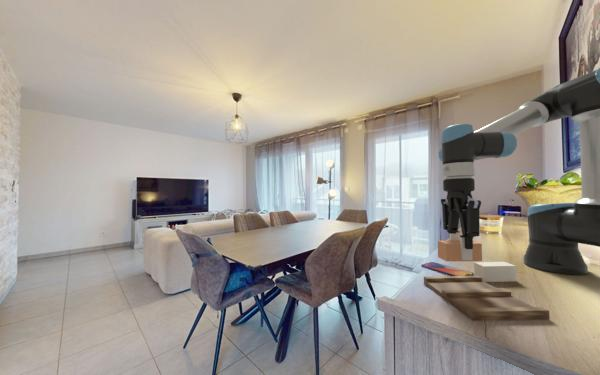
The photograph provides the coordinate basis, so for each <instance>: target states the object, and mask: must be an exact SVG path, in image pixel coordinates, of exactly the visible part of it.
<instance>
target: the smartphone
mask: <svg viewBox="0 0 600 375" xmlns="http://www.w3.org/2000/svg"><path fill="white" fill-rule="evenodd" d="M421 267H422V268H425V269H427V270H431V271H434V272H437V273H440V274H443V273H444V275H446V274H447V275H446V276H449V275H450V276H474V272H472V271H468V270H464V269H462V268H461V269H460V268H457V267H454V266H451V265H450V266H449V265H445V264H443V263H437V262H435V261H430V262H426V263H423V264H421Z"/></svg>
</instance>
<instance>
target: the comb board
mask: <svg viewBox="0 0 600 375" xmlns="http://www.w3.org/2000/svg"><path fill="white" fill-rule="evenodd" d="M423 283H424V284H425V285H426V286H427V285H428V286H427V287H429V288H430V289H431V290H432V289H433V290H432V291H434V292H435V293H436V294H437V295H439V296H440V297H441V296H442V297H441V298H442V299H444V300H445V301H446V302H448V303H449V304H450V305H452V306H453V307H454V308H456V309H457V310H458V311H460V312H461V313H462V314H464V316H466V317H467V318H469V319H470V320H471V321H473V322H474V321H476V322H478V321H530V320H532V321H533V320H534V321H537V320H539V321H540V320H543V321H544V320H550V319H551V318H550V310H549V309H547V308H545V307H543V306H533V305H531V304H529V303H527V302H525V301H523V300H521V299H519V298H517V297H516V296H513V295H512V291H510V290H508V289H506V288H503V287H501V288H497V287H496V286H494V285H491V284H489V282H484V281H482V277H480V276H449V275H441V276H433V275H432V276H423Z"/></svg>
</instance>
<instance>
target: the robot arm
mask: <svg viewBox="0 0 600 375" xmlns="http://www.w3.org/2000/svg"><path fill="white" fill-rule="evenodd" d="M568 117H569V118H570V117H571V120H573V121H576V122H577V123H579V144H580V145H579V146H580V147H579V148H580V149H579V150H580V152H579V153H580V180H581V181H580V182H581V197H580V198H579V199H578V200H576V201H574V202H561V203H557V202H556V203H541V204H540V203H539V204H532V205H530V206H529V207H527V209H528V210H527V217H526V218H527V226H528V246H527V248H526V250H525V254H524V255H523V264H525V265H526V266H527V267H528V266H529V267H531V268H534V269H537V270H541V271H545V272H550V273H557V274H563V275H575V276H576V275H582V276H583V275H586V274H587V275H588V273H589V269H588V268H589V267H588V264H587V263H586V262H585V260H584V257H583V255H582V253H581V251H580V250H579V244H582V245H588V246H593V247H599V248H600V67H599V68H597V69H595V70H593V71H590V72H588V73H584V74H582V75H579V76H578V77H575V78H573V79H570V80H567V81H565V82H562V83H560V84H557V85H555V86H554V87H552V88H549V89H548V90H546V91H544V92H542V93H540V94H539V95H537V96H535V97H534V98H532V99H530V100H528V101H527V102H524V103H522V104H521V105H520V106H519V107H518V108H517V110H515V111H513V112H511V113H509V114H507V115H505V116H503V117H501V118H499V119H497V120H495V121H493V122H491V123H490V124H487V125H485V126H483V127H482V128H479V129H478V130H477V129H476V130H475V131H474V129H473V125H472V124H469V123H458V124H453V125H449V126H447V127H444V128H443V130H442V132H441V142H440V144H441V148H440V149H439V151H438V158H439V160H440V162H441V163H442V177H443V178H444V179H443V181H442V188H443V191H444V192H447V193H446V197H445V198H441V199H440V203H441V207H442V208H441V210H442V226H443V227H442V228H443V230H444V231H447V233H448V241H460V245H461V260H473V257H472V249H473V241H474V240H473V239H474V238H475V237H480V231H481V230H480V208H481V205H482V201H481V200H476V199H474V197H473V195H472V192H474V191H475V189H476V188H475V186H476V184H475V178H473V177H474V176H475V161H478V160H486V159H492V158H493V159H500V158H506V157H509V156H511V155H512V154H513V153H514V152H515V150H516V149H517V146H518V140H517V137H516V136H515V135H518V134H520V133H522V132H524V131H526V130H528V129H530V128H537V127H539V126H542V125H544V124H547V123H549V122H552V121H557V120H560V119H565V118H568ZM459 224H460V229H461V231H460V230H459ZM460 233H461V234H462V235H461V234H460Z"/></svg>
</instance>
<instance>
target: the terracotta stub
mask: <svg viewBox="0 0 600 375" xmlns="http://www.w3.org/2000/svg"><path fill="white" fill-rule="evenodd" d="M437 257H438V258H440V259H441V260H442V261H445V262H483V246H482V243H481V242H477V241H474V240H473V249H472V257H473V260H461V245H460V241H449V240H437Z"/></svg>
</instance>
